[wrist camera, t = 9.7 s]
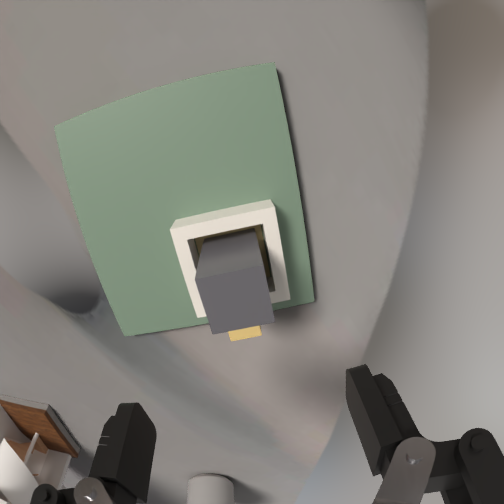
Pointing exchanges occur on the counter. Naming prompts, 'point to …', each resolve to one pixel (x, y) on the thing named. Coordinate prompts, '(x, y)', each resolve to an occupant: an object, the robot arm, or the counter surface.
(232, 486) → the can
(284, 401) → the counter surface
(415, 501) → the robot arm
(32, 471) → the white tall box
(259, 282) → the plug
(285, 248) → the board
